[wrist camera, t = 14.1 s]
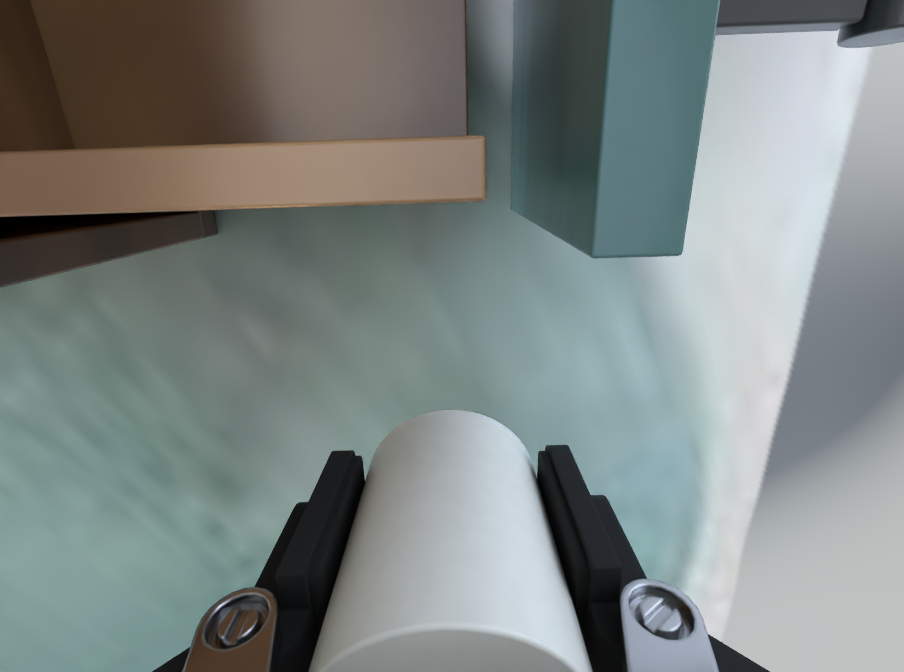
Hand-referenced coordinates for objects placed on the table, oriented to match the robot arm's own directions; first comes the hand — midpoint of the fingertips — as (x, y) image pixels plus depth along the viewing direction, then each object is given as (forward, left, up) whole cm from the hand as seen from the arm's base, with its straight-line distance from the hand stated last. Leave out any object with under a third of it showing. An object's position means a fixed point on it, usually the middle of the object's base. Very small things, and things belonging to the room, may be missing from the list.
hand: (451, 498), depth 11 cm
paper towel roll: (0, 0, -1) cm, 1 cm away
